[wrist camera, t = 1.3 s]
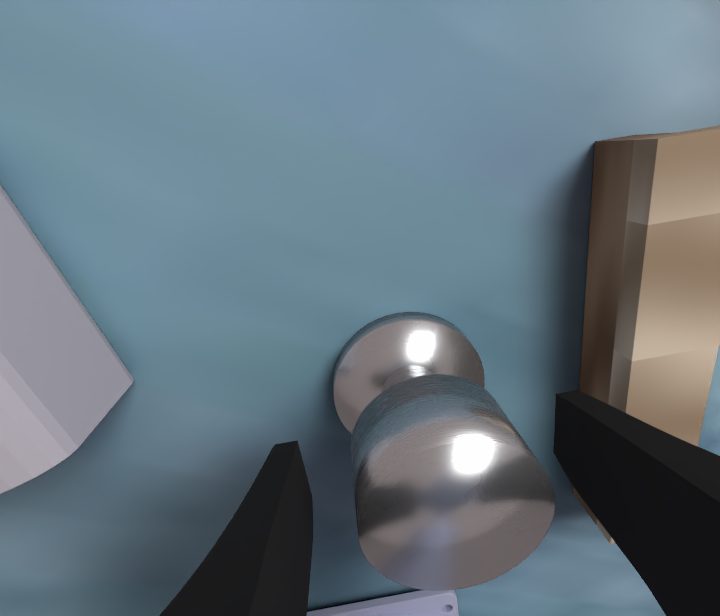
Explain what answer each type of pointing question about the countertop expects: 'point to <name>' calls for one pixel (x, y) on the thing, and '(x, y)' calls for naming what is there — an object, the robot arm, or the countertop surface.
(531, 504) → the peg
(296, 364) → the countertop surface
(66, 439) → the charger
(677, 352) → the keyhole plate
